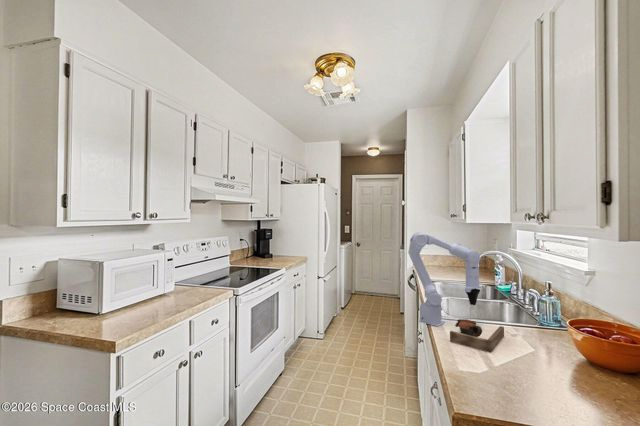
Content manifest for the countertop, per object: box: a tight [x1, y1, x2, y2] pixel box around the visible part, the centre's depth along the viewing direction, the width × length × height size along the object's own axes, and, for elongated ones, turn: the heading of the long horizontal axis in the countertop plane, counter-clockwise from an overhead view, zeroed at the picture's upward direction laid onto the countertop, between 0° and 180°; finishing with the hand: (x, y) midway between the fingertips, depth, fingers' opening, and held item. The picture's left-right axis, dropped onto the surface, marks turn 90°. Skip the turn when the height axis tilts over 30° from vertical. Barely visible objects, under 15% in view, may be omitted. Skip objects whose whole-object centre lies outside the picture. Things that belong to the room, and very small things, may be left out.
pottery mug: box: [454, 318, 483, 338], centre depth 126 cm, size 12×10×8 cm
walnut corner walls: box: [449, 325, 505, 354], centre depth 123 cm, size 15×20×4 cm
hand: (472, 304), depth 140 cm, fingers closed
